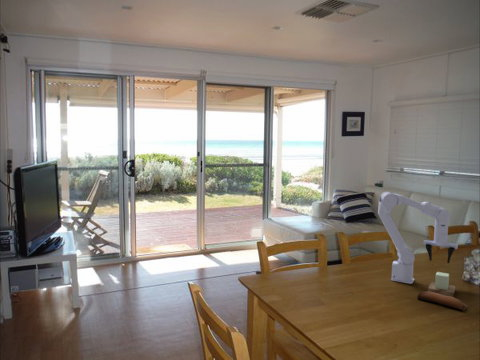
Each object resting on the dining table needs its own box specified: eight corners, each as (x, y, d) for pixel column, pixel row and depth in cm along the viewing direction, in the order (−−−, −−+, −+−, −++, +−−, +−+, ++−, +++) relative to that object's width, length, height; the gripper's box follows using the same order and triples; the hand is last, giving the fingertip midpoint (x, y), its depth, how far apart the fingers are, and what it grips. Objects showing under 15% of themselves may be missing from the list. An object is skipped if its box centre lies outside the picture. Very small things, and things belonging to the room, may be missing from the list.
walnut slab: (427, 292, 184) (428, 288, 184) (431, 285, 193) (431, 281, 192) (452, 297, 179) (453, 292, 179) (455, 290, 187) (455, 286, 187)
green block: (434, 287, 185) (435, 274, 184) (436, 284, 189) (437, 271, 188) (447, 289, 182) (448, 276, 181) (448, 286, 186) (449, 273, 186)
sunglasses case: (469, 305, 169) (467, 294, 166) (464, 318, 165) (462, 307, 162) (424, 294, 182) (422, 283, 179) (418, 305, 178) (416, 295, 175)
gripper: (422, 232, 196) (421, 260, 197) (457, 236, 188) (455, 266, 189) (425, 230, 202) (424, 257, 203) (458, 234, 194) (457, 262, 195)
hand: (439, 261), depth 196 cm, fingers open, 7 cm apart
